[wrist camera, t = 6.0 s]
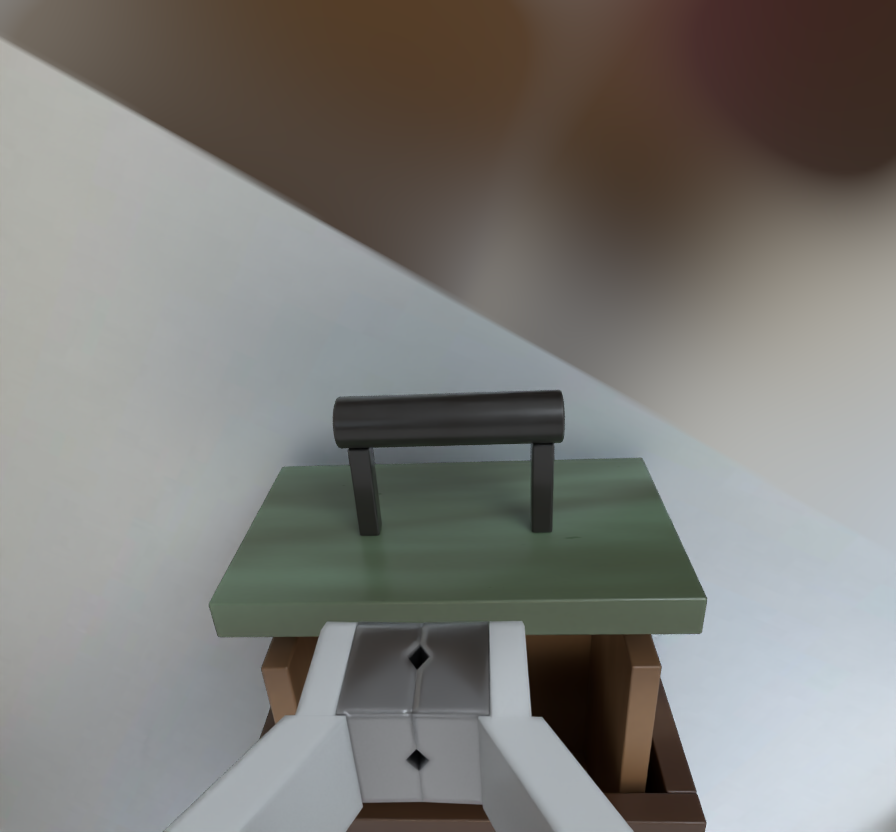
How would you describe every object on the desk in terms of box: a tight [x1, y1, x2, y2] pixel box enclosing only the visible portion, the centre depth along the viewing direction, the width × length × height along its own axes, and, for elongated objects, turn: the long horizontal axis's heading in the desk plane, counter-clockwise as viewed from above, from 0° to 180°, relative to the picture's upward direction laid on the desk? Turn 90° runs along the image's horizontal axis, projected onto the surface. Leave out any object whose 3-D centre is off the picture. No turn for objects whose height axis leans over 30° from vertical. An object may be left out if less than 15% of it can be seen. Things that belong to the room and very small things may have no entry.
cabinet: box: [259, 678, 706, 832], centre depth 26 cm, size 16×14×9 cm
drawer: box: [209, 390, 707, 793], centre depth 21 cm, size 19×13×7 cm, turn 3°
